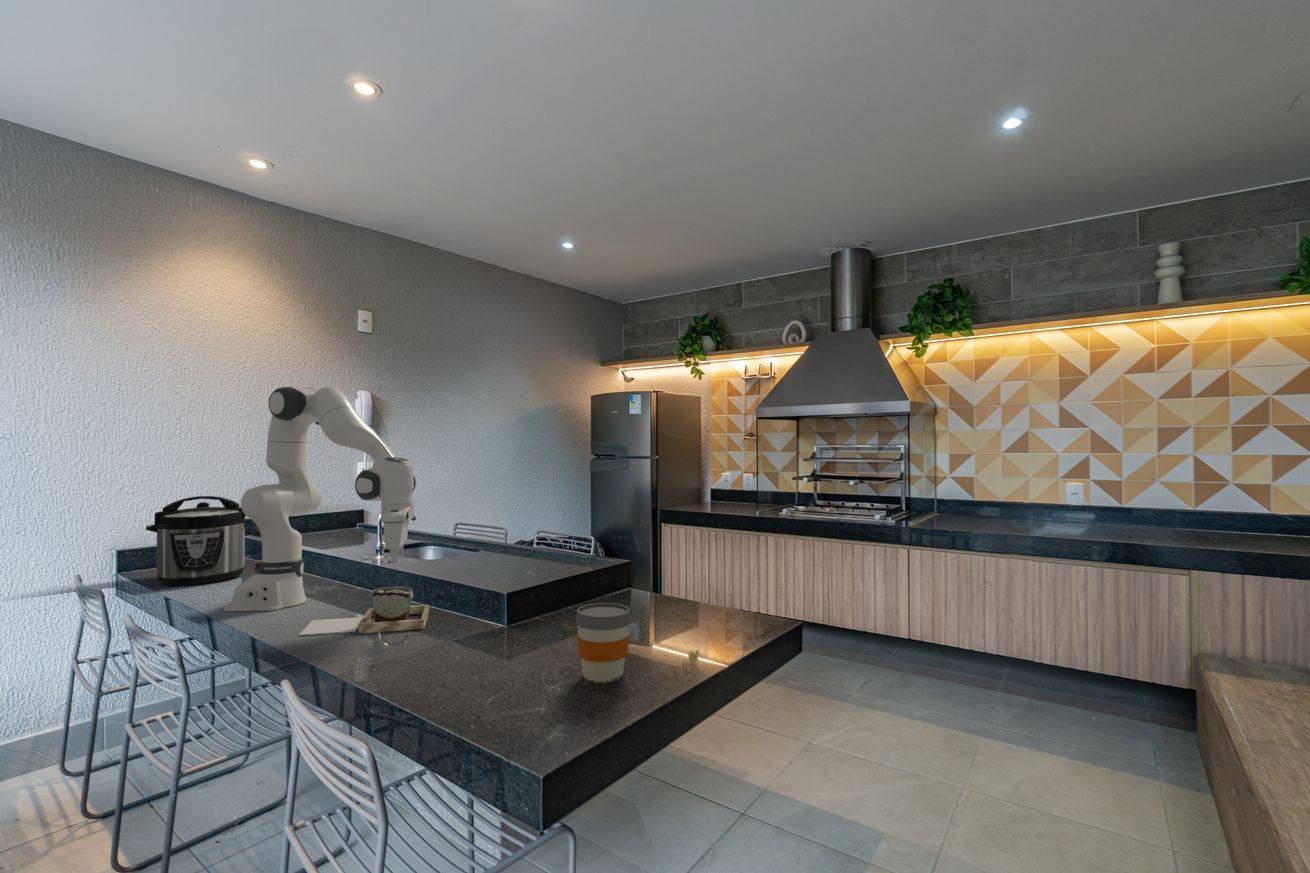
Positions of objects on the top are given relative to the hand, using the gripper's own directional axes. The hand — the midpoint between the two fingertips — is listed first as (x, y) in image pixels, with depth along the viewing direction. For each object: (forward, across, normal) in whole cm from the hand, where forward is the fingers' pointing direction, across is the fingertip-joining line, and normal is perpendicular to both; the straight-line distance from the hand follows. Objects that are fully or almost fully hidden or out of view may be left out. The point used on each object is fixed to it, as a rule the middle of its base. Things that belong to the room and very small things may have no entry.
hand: (397, 560), depth 177 cm
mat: (+18, 0, -17) cm, 25 cm away
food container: (+18, 0, 0) cm, 19 cm away
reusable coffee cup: (+19, +56, +50) cm, 77 cm away
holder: (+18, 0, 0) cm, 18 cm away
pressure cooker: (+17, -79, -79) cm, 113 cm away
